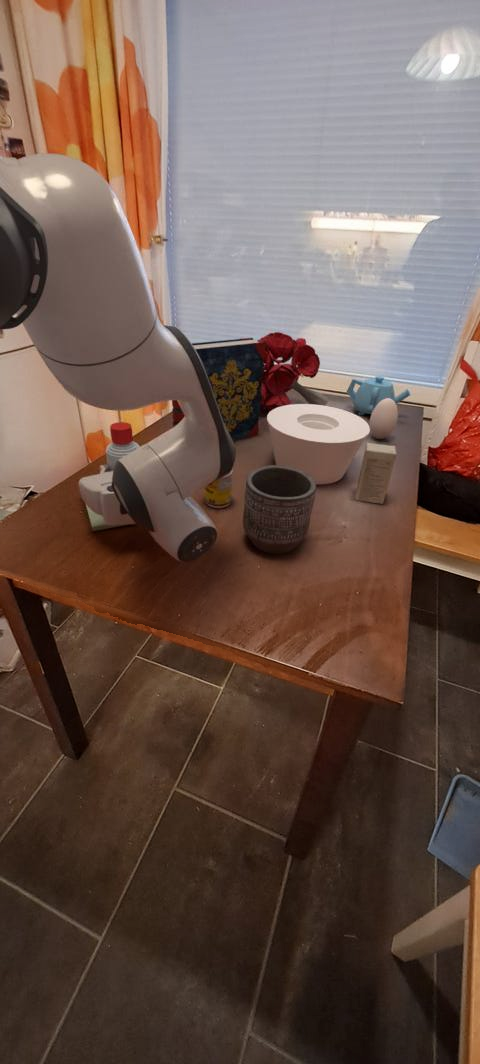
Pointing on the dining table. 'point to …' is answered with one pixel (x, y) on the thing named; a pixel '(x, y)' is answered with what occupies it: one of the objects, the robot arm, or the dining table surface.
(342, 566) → the dining table surface
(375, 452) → the cosmetic box
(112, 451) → the bottle
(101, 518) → the mat
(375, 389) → the teapot
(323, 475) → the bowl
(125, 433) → the cap
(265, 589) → the dining table surface
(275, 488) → the planter
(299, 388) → the bouquet
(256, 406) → the book
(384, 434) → the egg
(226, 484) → the supplement bottle
